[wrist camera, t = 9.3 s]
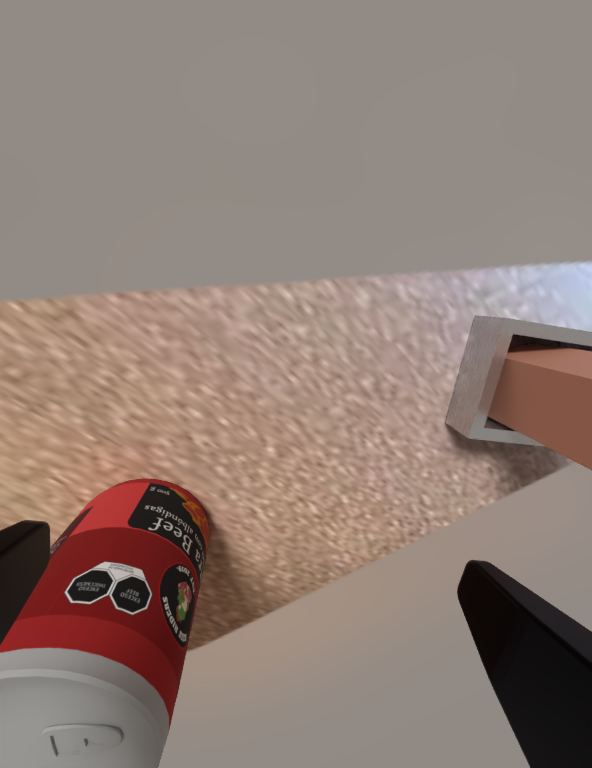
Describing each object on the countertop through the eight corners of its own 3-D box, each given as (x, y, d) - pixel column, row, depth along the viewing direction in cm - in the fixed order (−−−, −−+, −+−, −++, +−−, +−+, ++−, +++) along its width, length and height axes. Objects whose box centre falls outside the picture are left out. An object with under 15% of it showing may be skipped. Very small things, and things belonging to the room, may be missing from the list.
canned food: (227, 553, 22) (197, 786, 12) (115, 589, 22) (-21, 860, 11) (186, 457, 20) (103, 636, 9) (61, 496, 20) (-167, 723, 9)
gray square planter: (444, 422, 21) (468, 438, 19) (474, 315, 20) (504, 317, 17) (538, 432, 22) (571, 449, 20) (574, 331, 21) (615, 336, 18)
